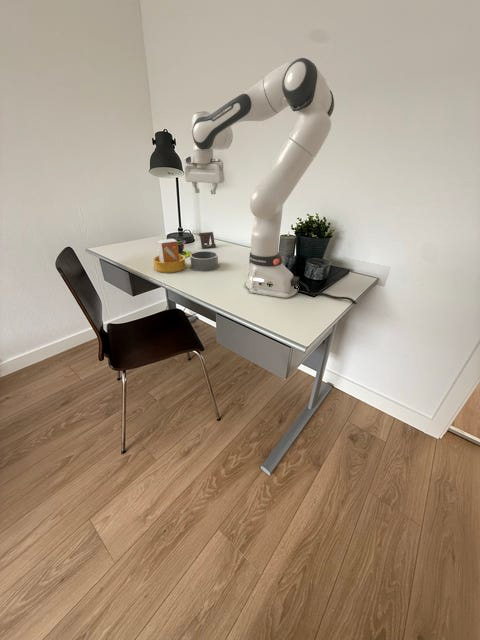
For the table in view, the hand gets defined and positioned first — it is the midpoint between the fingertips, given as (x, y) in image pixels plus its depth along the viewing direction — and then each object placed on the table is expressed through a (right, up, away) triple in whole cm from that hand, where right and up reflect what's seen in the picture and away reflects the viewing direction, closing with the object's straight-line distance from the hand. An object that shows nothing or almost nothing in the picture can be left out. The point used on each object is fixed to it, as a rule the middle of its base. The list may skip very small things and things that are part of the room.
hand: (205, 193), depth 124 cm
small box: (-18, -33, +9) cm, 38 cm away
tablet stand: (-4, -13, +44) cm, 46 cm away
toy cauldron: (-20, -21, +29) cm, 41 cm away
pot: (-2, -32, +11) cm, 34 cm away
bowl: (-18, -33, +9) cm, 39 cm away
